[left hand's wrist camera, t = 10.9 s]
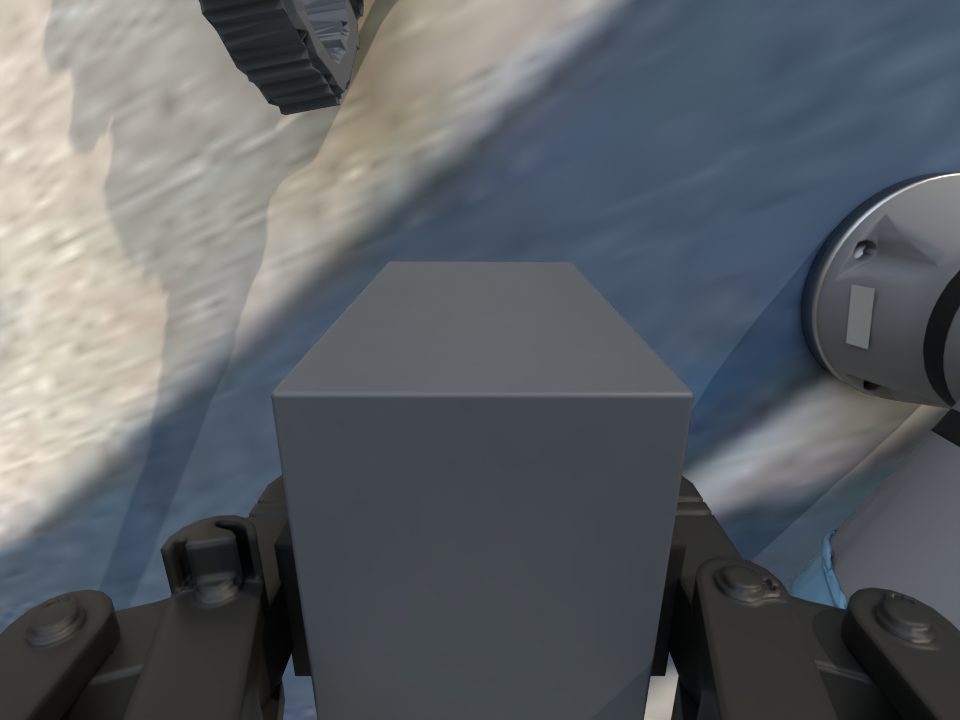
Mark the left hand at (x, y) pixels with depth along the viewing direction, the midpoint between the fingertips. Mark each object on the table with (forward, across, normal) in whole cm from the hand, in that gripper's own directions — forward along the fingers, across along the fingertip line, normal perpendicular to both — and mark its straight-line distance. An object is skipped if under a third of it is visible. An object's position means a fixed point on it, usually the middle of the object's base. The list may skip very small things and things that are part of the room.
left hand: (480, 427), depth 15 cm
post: (+1, 0, -27) cm, 27 cm away
